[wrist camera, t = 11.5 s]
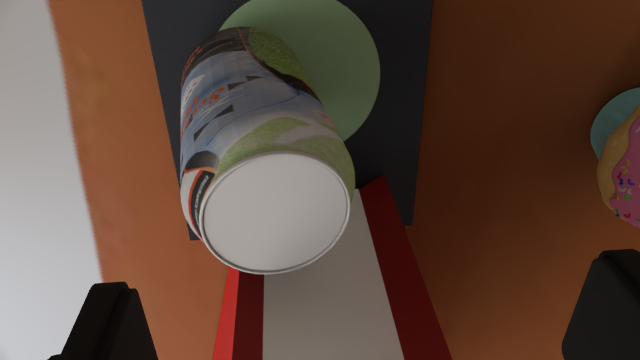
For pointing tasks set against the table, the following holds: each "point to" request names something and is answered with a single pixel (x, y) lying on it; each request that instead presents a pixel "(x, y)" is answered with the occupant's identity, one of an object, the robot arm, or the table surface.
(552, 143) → the table surface
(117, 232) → the table surface
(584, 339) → the robot arm
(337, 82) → the desk mat
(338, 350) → the book
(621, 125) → the cupcake
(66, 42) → the table surface
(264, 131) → the beverage can
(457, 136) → the table surface
